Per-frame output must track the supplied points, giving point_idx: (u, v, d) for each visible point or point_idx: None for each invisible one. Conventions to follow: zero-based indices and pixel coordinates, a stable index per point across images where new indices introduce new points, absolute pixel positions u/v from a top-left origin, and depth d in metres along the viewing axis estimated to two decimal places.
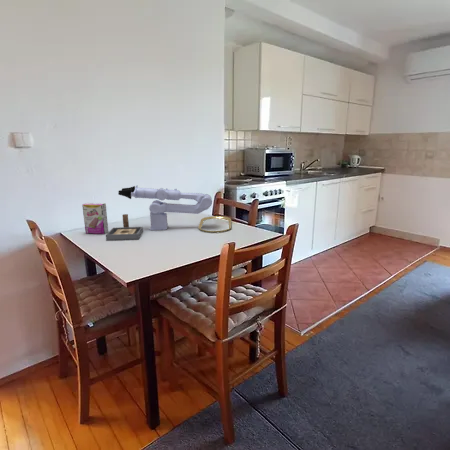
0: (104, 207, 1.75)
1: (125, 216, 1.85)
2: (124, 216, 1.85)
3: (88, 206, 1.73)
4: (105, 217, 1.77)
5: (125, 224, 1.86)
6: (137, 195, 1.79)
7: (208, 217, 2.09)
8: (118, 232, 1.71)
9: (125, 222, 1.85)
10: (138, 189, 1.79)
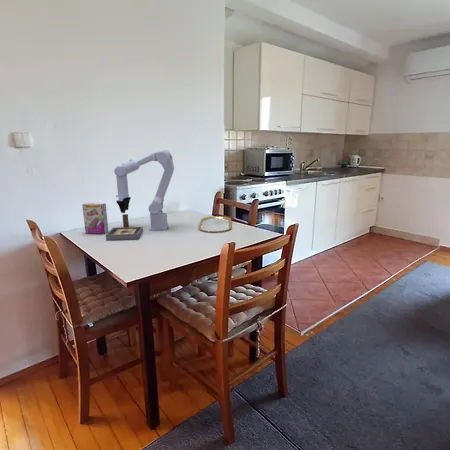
0: (104, 207, 1.75)
1: (125, 216, 1.85)
2: (124, 216, 1.85)
3: (88, 206, 1.73)
4: (105, 217, 1.77)
5: (125, 224, 1.86)
6: (124, 194, 1.80)
7: (208, 217, 2.09)
8: (118, 232, 1.71)
9: (125, 222, 1.85)
10: (118, 194, 1.81)
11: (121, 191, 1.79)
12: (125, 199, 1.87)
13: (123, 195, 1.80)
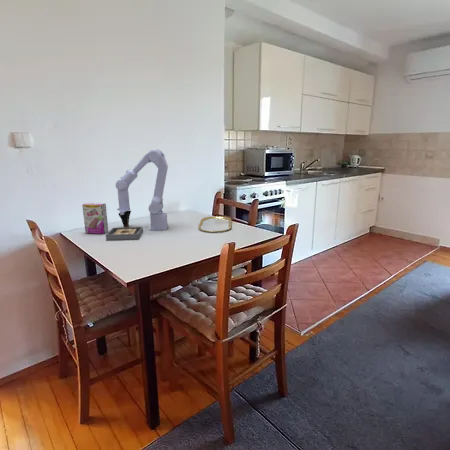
0: (104, 207, 1.75)
1: None
2: None
3: (88, 206, 1.73)
4: (105, 217, 1.77)
5: None
6: (125, 208, 1.82)
7: (208, 217, 2.09)
8: (118, 232, 1.71)
9: None
10: (119, 207, 1.83)
11: (122, 205, 1.81)
12: (125, 213, 1.87)
13: (124, 208, 1.82)
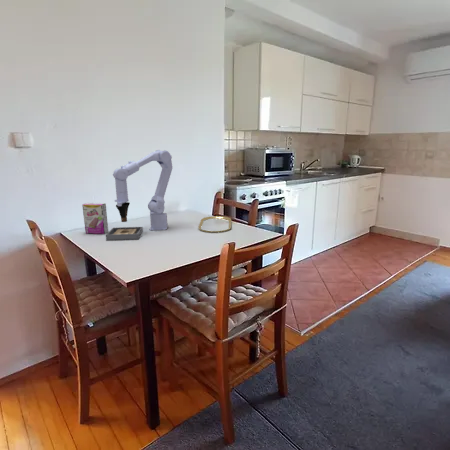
0: (104, 207, 1.75)
1: None
2: None
3: (88, 206, 1.73)
4: (105, 217, 1.77)
5: None
6: (123, 199, 1.70)
7: (208, 217, 2.09)
8: (118, 232, 1.71)
9: None
10: (117, 198, 1.70)
11: (120, 195, 1.69)
12: (124, 205, 1.75)
13: (122, 200, 1.69)
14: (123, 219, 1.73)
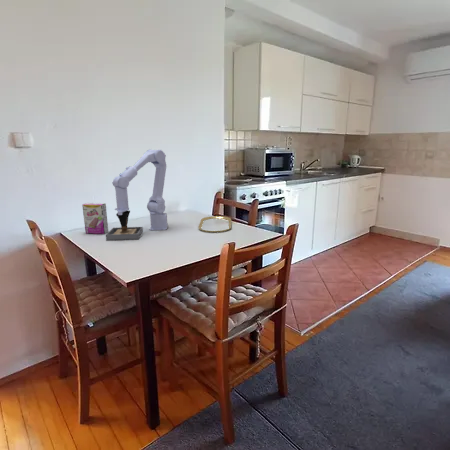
0: (104, 207, 1.75)
1: None
2: None
3: (88, 206, 1.73)
4: (105, 217, 1.77)
5: None
6: (124, 208, 1.66)
7: (208, 217, 2.09)
8: (118, 232, 1.71)
9: None
10: (117, 207, 1.67)
11: (120, 204, 1.65)
12: (124, 213, 1.71)
13: (123, 208, 1.66)
14: (123, 228, 1.70)
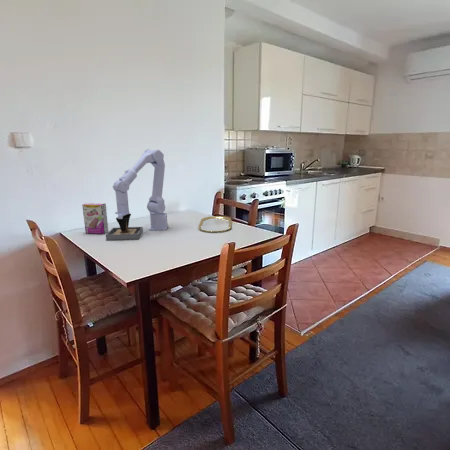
0: (104, 207, 1.75)
1: None
2: None
3: (88, 206, 1.73)
4: (105, 217, 1.77)
5: (124, 231, 1.70)
6: (124, 211, 1.67)
7: (208, 217, 2.09)
8: (118, 232, 1.71)
9: None
10: (118, 210, 1.67)
11: (121, 208, 1.66)
12: (125, 216, 1.73)
13: (123, 212, 1.66)
14: None
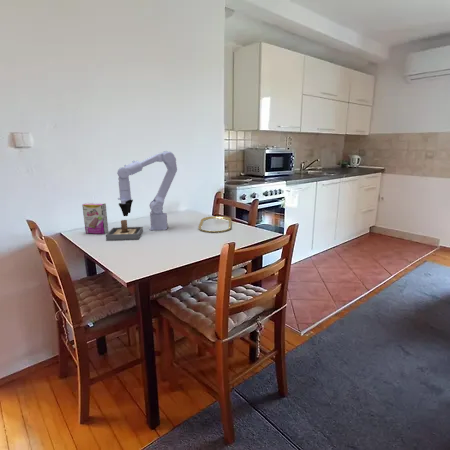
0: (104, 207, 1.75)
1: (124, 222, 1.69)
2: (123, 222, 1.69)
3: (88, 206, 1.73)
4: (105, 217, 1.77)
5: (124, 231, 1.70)
6: (126, 197, 1.75)
7: (208, 217, 2.09)
8: (118, 232, 1.71)
9: (124, 229, 1.70)
10: (120, 196, 1.75)
11: (123, 194, 1.74)
12: (127, 202, 1.82)
13: (125, 198, 1.75)
14: None
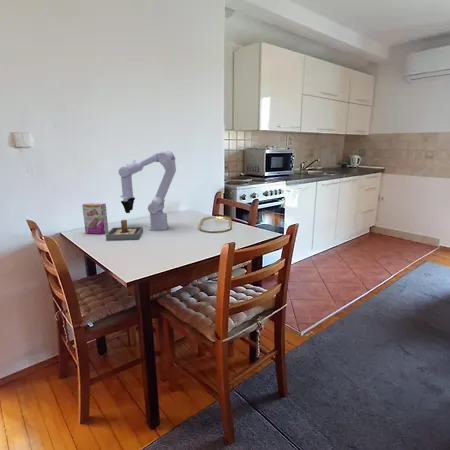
0: (104, 207, 1.75)
1: (124, 222, 1.69)
2: (123, 222, 1.69)
3: (88, 206, 1.73)
4: (105, 217, 1.77)
5: (124, 231, 1.70)
6: (128, 195, 1.83)
7: (208, 217, 2.09)
8: (118, 232, 1.71)
9: (124, 229, 1.70)
10: (123, 194, 1.83)
11: (126, 191, 1.82)
12: (129, 199, 1.89)
13: (128, 195, 1.82)
14: None
